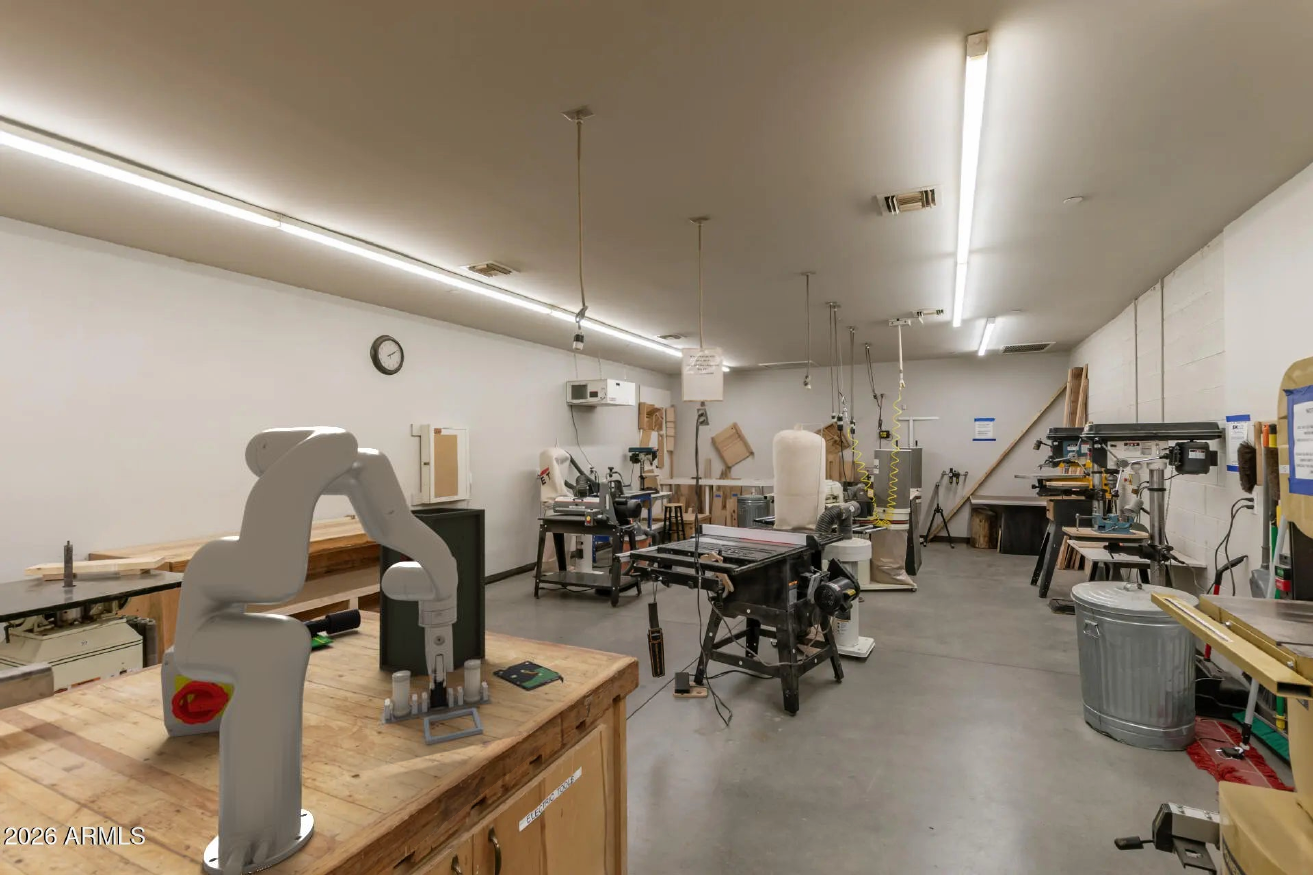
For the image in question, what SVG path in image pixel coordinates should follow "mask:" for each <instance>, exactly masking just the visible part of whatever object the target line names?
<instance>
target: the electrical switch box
mask: <svg viewBox="0 0 1313 875" xmlns="http://www.w3.org/2000/svg"><path fill="white" fill-rule="evenodd" d="M160 681H161V697H162V698H161V700H162V710H163V712H162V713H163V723H164V727H165V729H166V732H167V734H168V737H170V738H174V737H182V736H190V735H201V734H206V733H207V734H208V732H209V733H215V732H217V733H218V732H220V723H221V719H222V716H223V713H224V711H225V709H226V707H227V705H228V703H229V701H230V700H231V698H232V696H233V693H234V686H233V685H227V684H222V683H212V682H202V681H196V680H192V679H189V678H187V677H185V676H184V675H182V674H181V673H180V672H179V670H178V669H177V667H176V664H175V661H174V644H173V645H171V646H170V647H169V648H168V649H167V650H166V651H164V652H163V654H162V659H161V667H160Z"/></svg>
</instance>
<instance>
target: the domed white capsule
mask: <svg viewBox="0 0 1313 875" xmlns="http://www.w3.org/2000/svg"><path fill="white" fill-rule="evenodd" d="M391 677H392V678H391V680H392V708H393V709H392V716H393V717H402V716H406V715H408V714H409V713H410V705H411V698H410V697H411V695H410V692H411V690H410V688H411V686H410V685H411V678H410V671H399V672H396V673H393V674H391Z"/></svg>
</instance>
